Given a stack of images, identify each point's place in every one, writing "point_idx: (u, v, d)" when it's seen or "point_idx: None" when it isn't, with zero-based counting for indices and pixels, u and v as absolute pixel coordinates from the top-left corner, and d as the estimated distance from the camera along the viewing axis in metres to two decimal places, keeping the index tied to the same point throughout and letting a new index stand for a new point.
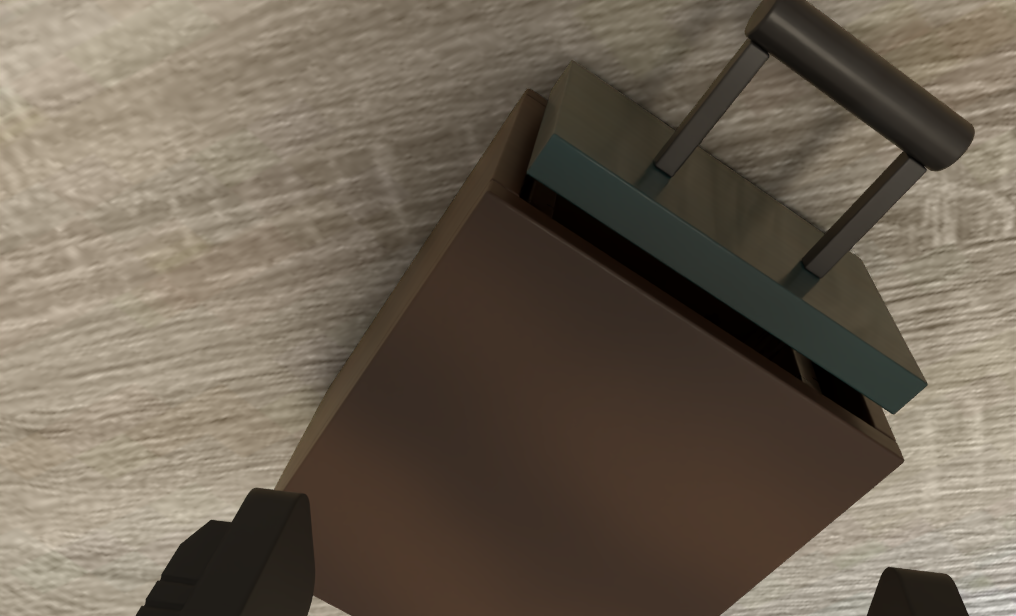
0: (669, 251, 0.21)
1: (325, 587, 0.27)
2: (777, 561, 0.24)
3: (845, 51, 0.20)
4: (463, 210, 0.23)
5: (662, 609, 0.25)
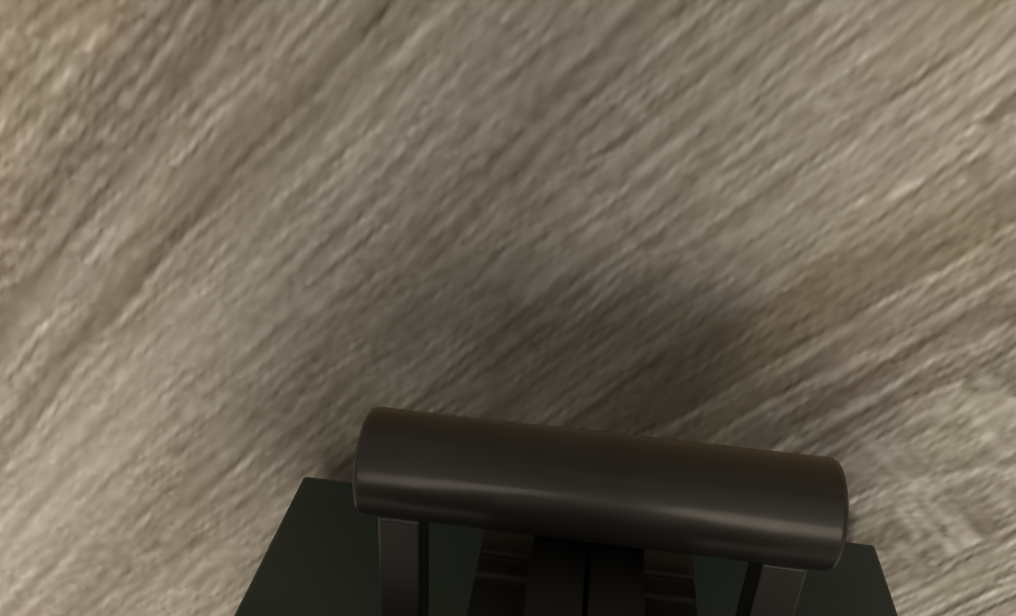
0: None
1: None
2: None
3: (517, 486, 0.11)
4: None
5: None
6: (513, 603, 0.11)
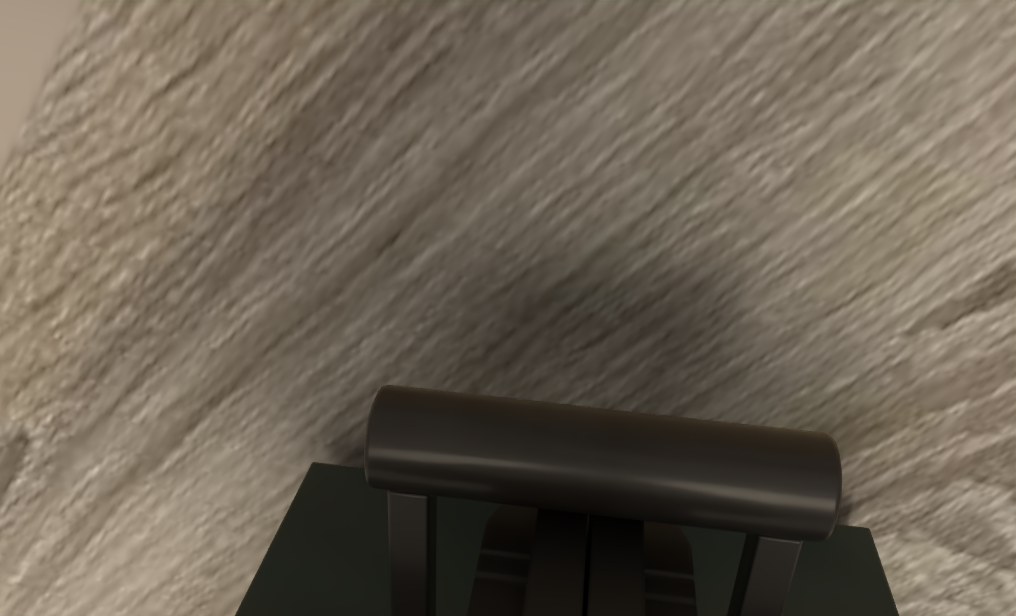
0: None
1: None
2: None
3: (523, 460, 0.11)
4: None
5: None
6: (513, 604, 0.11)
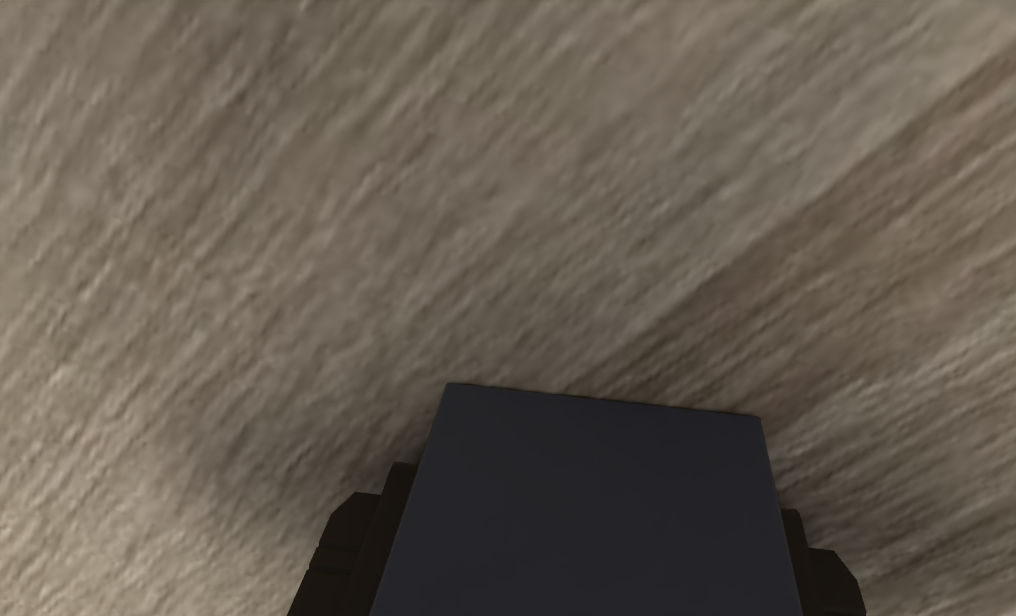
0: None
1: None
2: None
3: None
4: None
5: None
6: (340, 595, 0.11)
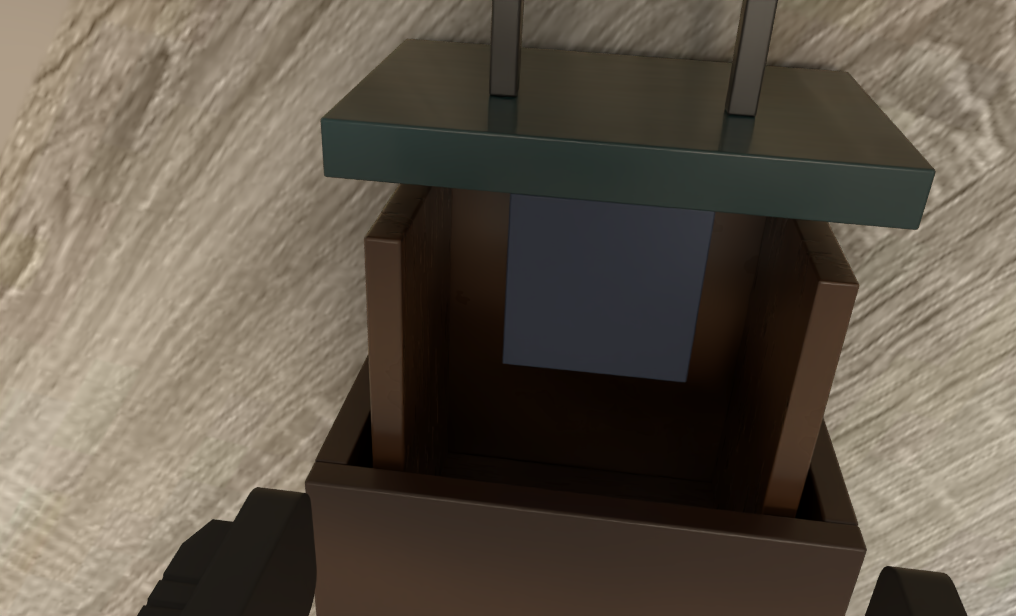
0: (522, 177, 0.17)
1: None
2: None
3: None
4: None
5: None
6: None
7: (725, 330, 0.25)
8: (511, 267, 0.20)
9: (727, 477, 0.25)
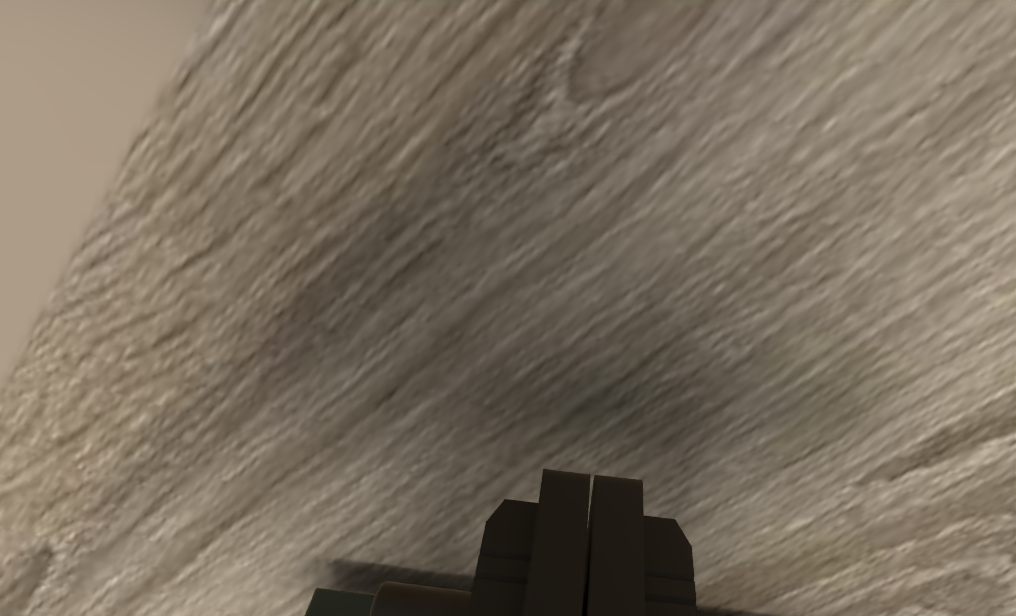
0: None
1: None
2: None
3: None
4: None
5: None
6: (514, 604, 0.11)
7: None
8: None
9: None
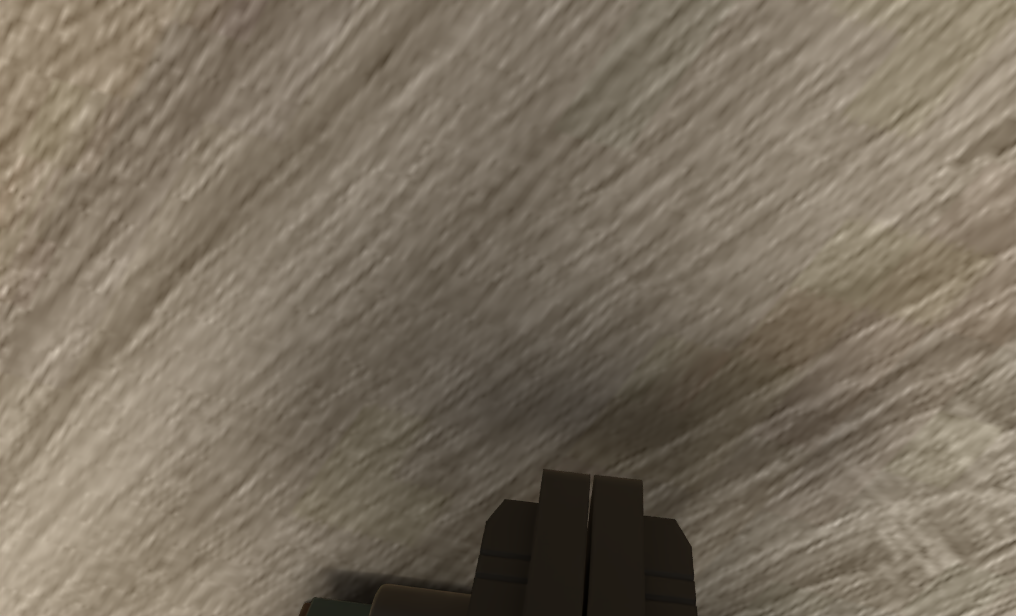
0: None
1: None
2: None
3: None
4: None
5: None
6: (514, 604, 0.11)
7: None
8: None
9: None
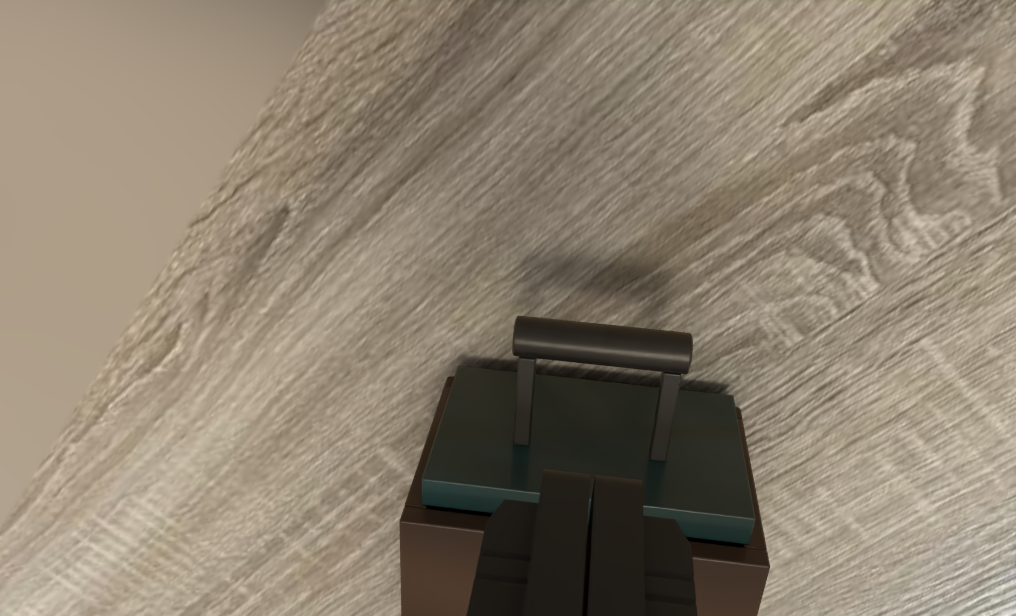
0: None
1: None
2: None
3: (573, 341, 0.29)
4: None
5: None
6: (514, 604, 0.11)
7: None
8: None
9: None
